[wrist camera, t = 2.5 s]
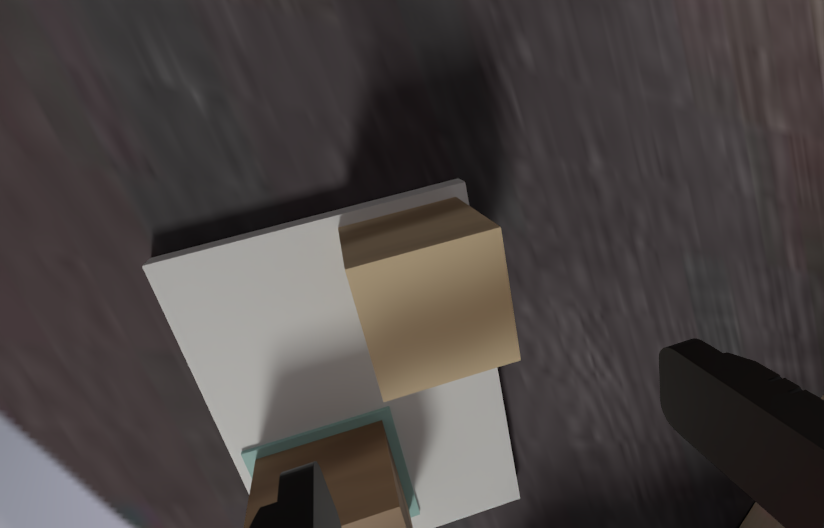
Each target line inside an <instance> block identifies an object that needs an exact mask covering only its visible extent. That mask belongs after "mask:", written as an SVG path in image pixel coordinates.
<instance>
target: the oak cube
mask: <svg viewBox="0 0 824 528" xmlns="http://www.w3.org/2000/svg"><path fill="white" fill-rule="evenodd" d="M338 232H339V238H340V244H341V250H342V256H343V262H344V268H345V272H346V276H347V279H348V282H349V286H350V289H351V293H352V296H353V300H354V303H355V306H356V310H357V313H358V317H359V320H360V323H361V327H362V330H363V334H364V337H365V341H366V344H367V347H368V351H369V354H370V358H371V361H372V364H373V368H374V371H375V375H376V378H377V382H378V385H379V388H380V392H381V395H382V399H383V402H386V401H390V400H393V399H396V398H399V397H403V396H406V395H409V394H412V393H416V392H419V391H422V390H425V389H429V388H432V387H435V386H438V385H442V384H445V383H448V382H451V381H455V380H458V379H461V378H464V377H468V376H471V375H474V374H477V373H481V372H484V371H487V370H490V369H494V368H497V367H500V366H503V365H507V364H510V363H513V362H516V361H520V360H521V358H520V352H519V345H518V338H517V332H516V325H515V318H514V312H513V305H512V299H511V292H510V285H509V279H508V272H507V265H506V259H505V252H504V245H503V239H502V232H501V227H500V226H499V225H497V224H496V223H494V222H493V221H491V220H490V219H488V218H487V217H485V216H484V215H482V214H481V213H479V212H478V211H476V210H475V209H473V208H472V207H470V206H469V205H467V204H466V203H464V202H463V201H461V200H460V199H459V198H457V197H453V198H449V199H445V200H441V201H437V202H434V203H430V204H426V205H422V206H418V207H415V208H411V209H407V210H403V211H399V212H396V213H392V214H388V215H384V216H380V217H377V218H373V219H369V220H365V221H361V222H358V223H354V224H350V225H346V226H342V227H339V228H338Z"/></svg>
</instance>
